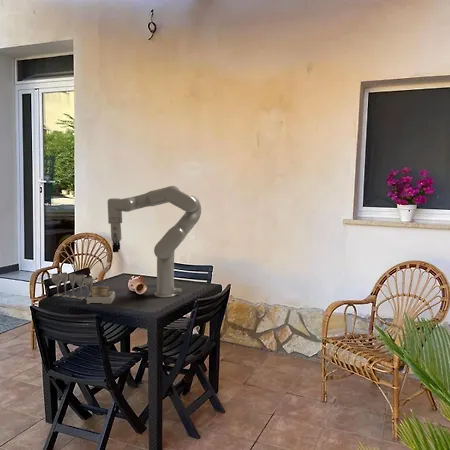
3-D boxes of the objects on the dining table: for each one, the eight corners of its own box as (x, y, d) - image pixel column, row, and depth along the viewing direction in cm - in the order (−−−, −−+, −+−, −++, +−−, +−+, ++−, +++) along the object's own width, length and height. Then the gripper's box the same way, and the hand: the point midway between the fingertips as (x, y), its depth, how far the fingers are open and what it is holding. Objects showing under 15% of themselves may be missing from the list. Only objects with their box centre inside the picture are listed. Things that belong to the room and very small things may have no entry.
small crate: (108, 297, 249) (108, 286, 248) (108, 300, 242) (108, 289, 242) (91, 297, 246) (91, 286, 246) (90, 301, 240) (91, 290, 239)
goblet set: (96, 298, 248) (95, 274, 246) (89, 300, 242) (87, 276, 241) (58, 293, 260) (56, 270, 258) (50, 295, 254) (48, 272, 253)
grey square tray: (114, 297, 252) (114, 291, 252) (111, 303, 240) (111, 297, 240) (91, 297, 251) (91, 291, 251) (86, 303, 239) (86, 297, 238)
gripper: (120, 221, 247) (122, 253, 249) (123, 219, 264) (124, 248, 266) (106, 222, 246) (108, 253, 248) (110, 219, 263) (111, 248, 265)
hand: (116, 250), depth 257 cm, fingers open, 9 cm apart
